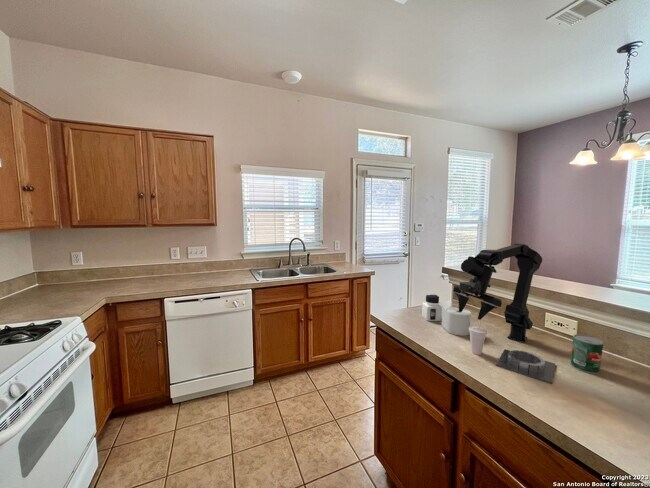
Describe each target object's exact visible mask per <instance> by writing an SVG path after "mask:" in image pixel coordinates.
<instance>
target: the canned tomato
mask: <svg viewBox="0 0 650 488" xmlns="http://www.w3.org/2000/svg"><path fill="white" fill-rule="evenodd" d="M603 348H604V341H602V340H601V339H599V338H597V337H594V336H590V335H587V334H586V335H585V334H574V335H573V337H572V345H571V354H570V363H569V364H570V365H571V367H573V368H574V369H576V370H578V371H580V372H583V373H586V374H591V375H592V374H594V375H598V374H600V373H601V367H602V357H603Z"/></svg>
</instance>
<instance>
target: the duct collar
mask: <svg viewBox="0 0 650 488" xmlns="http://www.w3.org/2000/svg"><path fill="white" fill-rule="evenodd" d="M495 366H496V367H500V368H501V369H505V370H508V371H511V372H514V373H518V374H520V375H524V376H526V377H530V378H531V379H535V380H538V381H541V382H545V383H548V384H551V385H552V384H553V379H554V373H555V368H556V363H554V362H551V361H549V360H545V359H544V358H543V357H541V356H539V355H537V354H535V353H533V352H528V351H525V350H519V349H518V350H516V349H514V350H509V349H506V348H505V349H503V351H502V353H501V354H500V356H499V358H498V360H497V362H496V363H495Z"/></svg>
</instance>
